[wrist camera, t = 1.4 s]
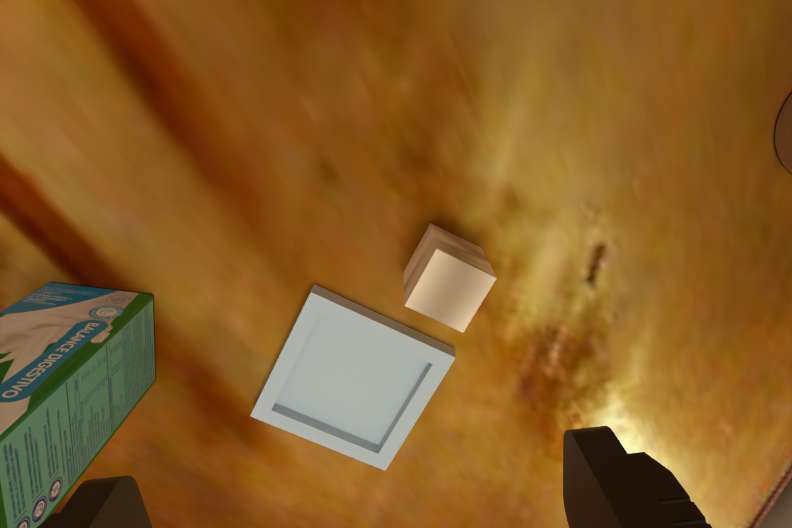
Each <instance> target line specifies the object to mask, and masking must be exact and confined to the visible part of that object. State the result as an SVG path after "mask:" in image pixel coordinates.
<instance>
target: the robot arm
mask: <svg viewBox="0 0 792 528" xmlns="http://www.w3.org/2000/svg"><path fill="white" fill-rule="evenodd" d="M775 146H776V150H777V154H778V157H779V159H780V161H781V162H782V164H783V166H784V167H785V168H786V169H787V170H788V171H789V172H790V173H791V174H792V94H791V95H790V96H789V98H788V100H787V101H786V103H785V105H784V106H783V108H782V110H781V113H780V115H779V118H778V120H777V125H776V131H775ZM563 498H564V507H565V512H566V517H567V521H568V524H569V527H570V528H712V527H711V525H710V524H707V523H706V520H705V517H704V516H703V514H702V513H701V512H700V510H699V509H698V508H697V506H696V505H695V503H694V502H691V501H690V497H689V495H688V494H687V493H686V491H685V490H684V488H683V487H682V486H681V484H680V483H679V482H678V480H677V479H676V478H675V476H674V475H673V474H672V472H671V471H669V470H668V469H667V468H665V467H664V466H662V465H661V464H660V463H658V462H657V461H656V460H654V459H653V458H651V457H650V456H649V455H647V454H646V453H645V452H641V453H632V454H627V452H626V451H625V449H624V448H623V446H622V445H621V443H620V442H619V440H618V439H617V437H616V436H615V434H614V432H613V431H612V430H611V429H610V428H609V427H608V426H601V427H591V428H582V429H573V430H566V431H565V433H564V447H563ZM37 528H152V526H151V523H150V520H149V517H148V514H147V511H146V508H145V506H144V503H143V500H142V497H141V494H140V491H139V488H138V485H137V483H136V481H135V480H134V478H133V477H131V476H120V477H111V478H101V479H92V480H86V481H85V482H83V483H82V484H81V485H80V486H79V487H78V488H77V490H76V491H75V492H74V494H73V495H72V496H71V498H70V499H69V501H68V502H67V503H66V505H65V506H64V507H63V509H62V510H61V512H60V513H54V514H52V515H51V516H50V517H49V518H47V519H46V520H45V521H44V522H43V523H41V524H40V525H39V526H38V527H37Z"/></svg>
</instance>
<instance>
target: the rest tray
mask: <svg viewBox="0 0 792 528" xmlns="http://www.w3.org/2000/svg"><path fill="white" fill-rule="evenodd" d="M455 358H456V357H455V352H454V348H453V347H451V346H449V345H447V344H444V343H442V342H440V341H438V340H436V339H433V338H431V337H429V336H427V335H425V334H422V333H420V332H418V331H416V330H414V329H411V328H409V327H407V326H405V325H403V324H401V323H398V322H396V321H394V320H392V319H390V318H387V317H385V316H383V315H381V314H379V313H376V312H374V311H372V310H370V309H368V308H365V307H363V306H361V305H359V304H357V303H354V302H352V301H350V300H348V299H346V298H344V297H341V296H339V295H337V294H335V293H333V292H330V291H328V290H326V289H324V288H322V287H319V286H317V285H315V284H314V285H313V287H312V289H311V291H310V293H309V295H308V297H307V299H306V301H305V303H304V305H303V307H302V309H301V311H300V313H299V316H298V318H297V320H296V322H295V324H294V326H293V328H292V330H291V332H290V334H289V336H288V338H287V340H286V342H285V344H284V346H283V348H282V350H281V352H280V354H279V356H278V358H277V361H276V363H275V365H274V367H273V369H272V371H271V373H270V375H269V377H268V379H267V381H266V383H265V385H264V387H263V389H262V391H261V393H260V395H259V397H258V399H257V401H256V403H255V406H254V408H253V410H252V413H251V415H250V416H251V417H253V418H256V419H258V420H261V421H263V422H266V423H268V424H270V425H273V426H275V427H278V428H280V429H283V430H285V431H288V432H290V433H293V434H295V435H298V436H300V437H303V438H305V439H308V440H310V441H312V442H315V443H317V444H320V445H322V446H325V447H327V448H330V449H332V450H335V451H337V452H340V453H342V454H345V455H347V456H350V457H352V458H355V459H357V460H359V461H362V462H364V463H367V464H369V465H372V466H374V467H377V468H379V469H382V470H384V471H386V469H387V467H388V466H389V464H390V463H391V461H392V459H393V458H394V456H395V455H396V453H397V451H398V450H399V448H400V447H401V445H402V443H403V442H404V440H405V438H406V437H407V435H408V434H409V432H410V430H411V429H412V427H413V426H414V424H415V422H416V421H417V419H418V418H419V416H420V414H421V413H422V411H423V410H424V408H425V406H426V405H427V403H428V401H429V400H430V398H431V397H432V395H433V393H434V392H435V390H436V389H437V387H438V385H439V384H440V382H441V381H442V379H443V377H444V376H445V374H446V373H447V371H448V369H449V368H450V366H451V364H452V363H453V361H454V360H455Z"/></svg>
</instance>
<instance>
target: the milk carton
mask: <svg viewBox="0 0 792 528" xmlns="http://www.w3.org/2000/svg"><path fill="white" fill-rule="evenodd" d="M154 382H155V351H154V313H153V295H151V294H143V293H135V292H126V291H118V290H110V289H101V288H93V287H85V286H77V285H68V284H60V283H52V282H49V283H48V284H46V285H45V286H43V287H41V288H40V289H38V290H36V291H35V292H33V293H31V294H30V295H28V296H26V297H25V298H23V299H22V300H20V301H18V302H17V303H15V304H13V305H12V306H10V307H8V308H7V309H5V310H3V311H2V312H0V528H37V527H38V526H39V525H40V524H41V523H43V522H44V521H45V520H46V519H47V518H49V517H50V516H51V515H52V513H53V512H54V511H55V509H56V508H57V507H58V505H59V504H60V503H61V502H62V500H63V499H64V498H65V496H66V495H67V494H68V493H69V491H70V490H71V489H72V487H73V486H74V485H75V484H76V482H77V481H78V480H79V478H80V477H81V476H82V475H83V473H84V472H85V471H86V469H87V468H88V467H89V466H90V464H91V463H92V462H93V460H94V459H95V458H96V457H97V455H98V454H99V453H100V451H101V450H102V449H103V448H104V446H105V445H106V444H107V442H108V441H109V440H110V439H111V437H112V436H113V435H114V433H115V432H116V431H117V430H118V428H119V427H120V426H121V424H122V423H123V422H124V421H125V419H126V418H127V417H128V415H129V414H130V413H131V412H132V410H133V409H134V408H135V406H136V405H137V404H138V403H139V401H140V400H141V399H142V397H143V396H144V395H145V393H146V392H147V391H148V390H149V388H150V387H151V386H152V384H153V383H154Z"/></svg>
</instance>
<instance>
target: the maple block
mask: <svg viewBox="0 0 792 528" xmlns="http://www.w3.org/2000/svg"><path fill="white" fill-rule="evenodd" d="M403 278H404V302H405V306H406V307H409V308H411V309H413V310H415V311H417V312H419V313H421V314H424V315H426V316H428V317H430V318H432V319H434V320H437V321H439V322H441V323H443V324H445V325H447V326H450V327H452V328H454V329H456V330H458V331H460V332H462V333H463V332H464V331H465V329H466V327H467V326H468V324H469V322H470V321H471V319H472V318H473V316H474V314H475V313H476V311H477V309H478V308H479V306H480V305H481V303H482V301H483V300H484V298H485V296H486V295H487V293H488V292H489V290H490V288H491V287H492V285H493V283H494V282H495V280H496V279H497V278H496V276H495V274H494V272H493V270H492V268H491V266H490V264H489V262H488V260H487V258H486V256H485V254H484V252H483V250H482V248H480V247H478V246H476V245H474V244H472V243H470V242H468V241H466V240H464V239H462V238H460V237H458V236H456V235H454V234H452V233H450V232H448V231H446V230H444V229H442V228H440V227H438V226H436V225H434V224H432V223H430V224H429V226H428V228H427V230H426V232H425V234H424V235H423V237H422V239H421V241H420V243H419V245H418V246H417V248H416V250H415V252H414V254H413V255H412V257H411V259H410V261H409V263H408V265H407V266H406V268H405V270H404V272H403Z"/></svg>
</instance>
